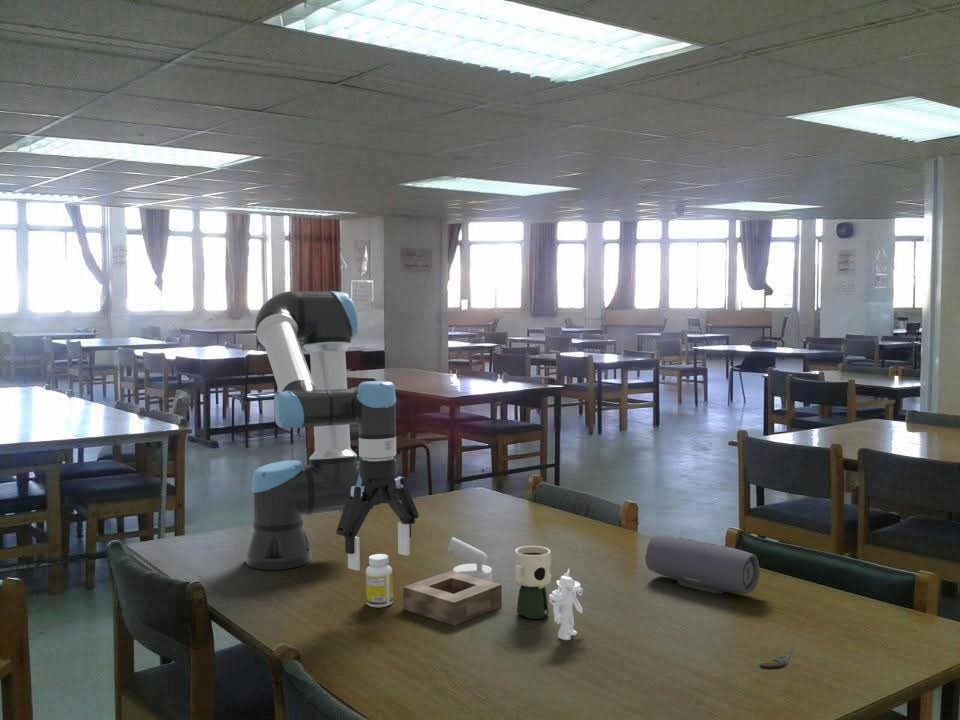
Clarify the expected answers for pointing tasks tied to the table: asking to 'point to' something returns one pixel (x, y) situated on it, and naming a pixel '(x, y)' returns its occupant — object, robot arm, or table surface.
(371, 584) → the supplement bottle
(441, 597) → the well block
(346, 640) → the table surface
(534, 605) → the character mug
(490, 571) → the white tilted tube stand
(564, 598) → the hat wearing toy figure
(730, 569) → the bluetooth speaker
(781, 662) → the knife
